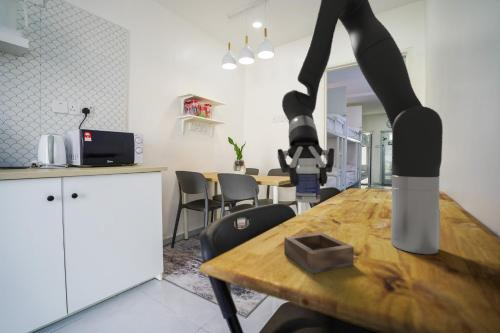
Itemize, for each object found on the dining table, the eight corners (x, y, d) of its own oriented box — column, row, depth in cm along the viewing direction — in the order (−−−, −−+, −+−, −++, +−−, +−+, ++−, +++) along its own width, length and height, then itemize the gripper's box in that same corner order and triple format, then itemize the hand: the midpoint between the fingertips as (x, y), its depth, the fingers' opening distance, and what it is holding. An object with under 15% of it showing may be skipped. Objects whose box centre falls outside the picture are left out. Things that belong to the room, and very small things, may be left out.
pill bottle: (323, 203, 49) (322, 158, 48) (298, 203, 49) (297, 158, 49) (316, 199, 54) (316, 158, 54) (293, 199, 54) (293, 159, 54)
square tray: (320, 247, 54) (320, 232, 54) (353, 264, 45) (353, 246, 45) (284, 253, 51) (284, 237, 51) (311, 273, 42) (311, 254, 41)
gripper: (275, 125, 59) (275, 172, 48) (332, 123, 58) (346, 172, 46) (276, 146, 65) (276, 194, 53) (328, 145, 63) (339, 194, 51)
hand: (308, 183), depth 50 cm, fingers closed on pill bottle, 5 cm apart
